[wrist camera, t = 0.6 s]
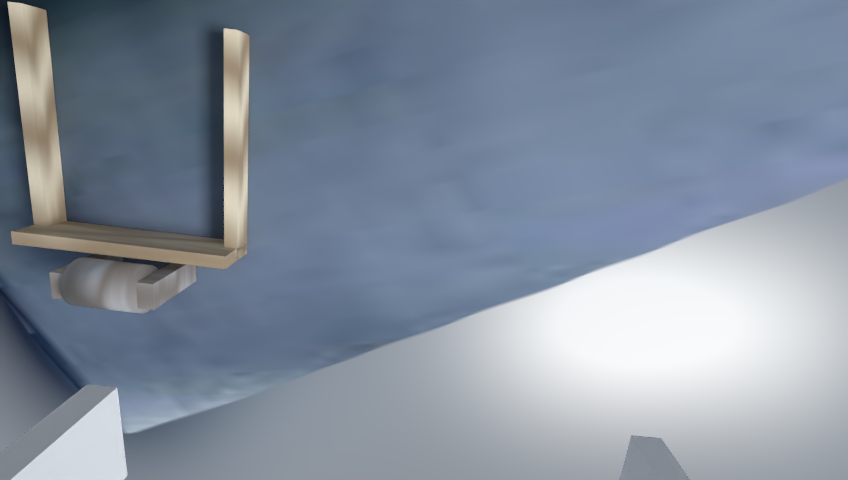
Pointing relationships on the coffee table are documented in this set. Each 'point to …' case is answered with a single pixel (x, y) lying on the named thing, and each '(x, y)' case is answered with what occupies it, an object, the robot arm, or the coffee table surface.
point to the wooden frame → (105, 270)
